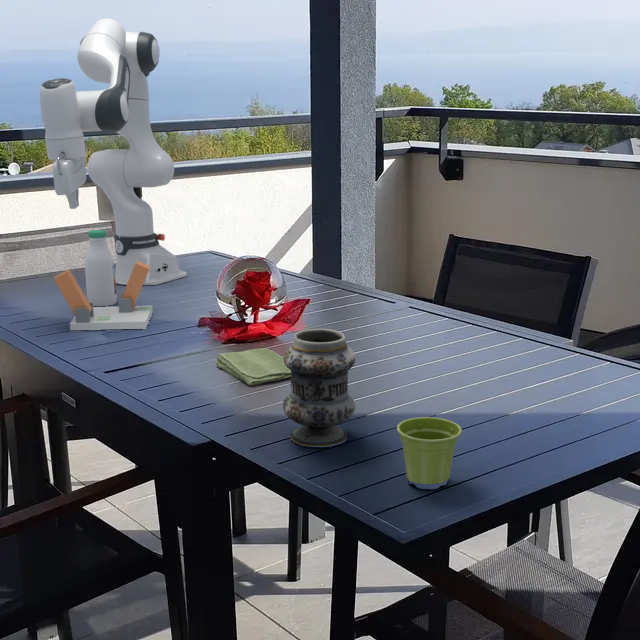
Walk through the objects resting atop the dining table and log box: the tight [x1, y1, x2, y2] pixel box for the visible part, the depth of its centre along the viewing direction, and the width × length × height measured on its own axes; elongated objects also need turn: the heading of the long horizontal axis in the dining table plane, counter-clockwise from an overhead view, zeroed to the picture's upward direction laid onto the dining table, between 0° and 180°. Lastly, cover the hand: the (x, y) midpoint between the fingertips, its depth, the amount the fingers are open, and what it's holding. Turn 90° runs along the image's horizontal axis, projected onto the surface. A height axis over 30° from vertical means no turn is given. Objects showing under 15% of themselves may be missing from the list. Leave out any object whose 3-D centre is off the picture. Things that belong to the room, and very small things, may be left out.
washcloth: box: [215, 347, 291, 387], centre depth 188 cm, size 13×18×3 cm
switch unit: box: [69, 292, 154, 332], centre depth 226 cm, size 16×18×6 cm
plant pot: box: [396, 416, 462, 484], centre depth 135 cm, size 9×9×9 cm
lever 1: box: [53, 268, 92, 316], centre depth 220 cm, size 4×4×12 cm
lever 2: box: [121, 261, 151, 308], centre depth 230 cm, size 4×4×12 cm
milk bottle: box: [84, 229, 118, 307], centre depth 243 cm, size 8×8×20 cm
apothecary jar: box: [282, 328, 356, 446], centre depth 151 cm, size 12×12×18 cm
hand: (74, 207), depth 219 cm, fingers closed
